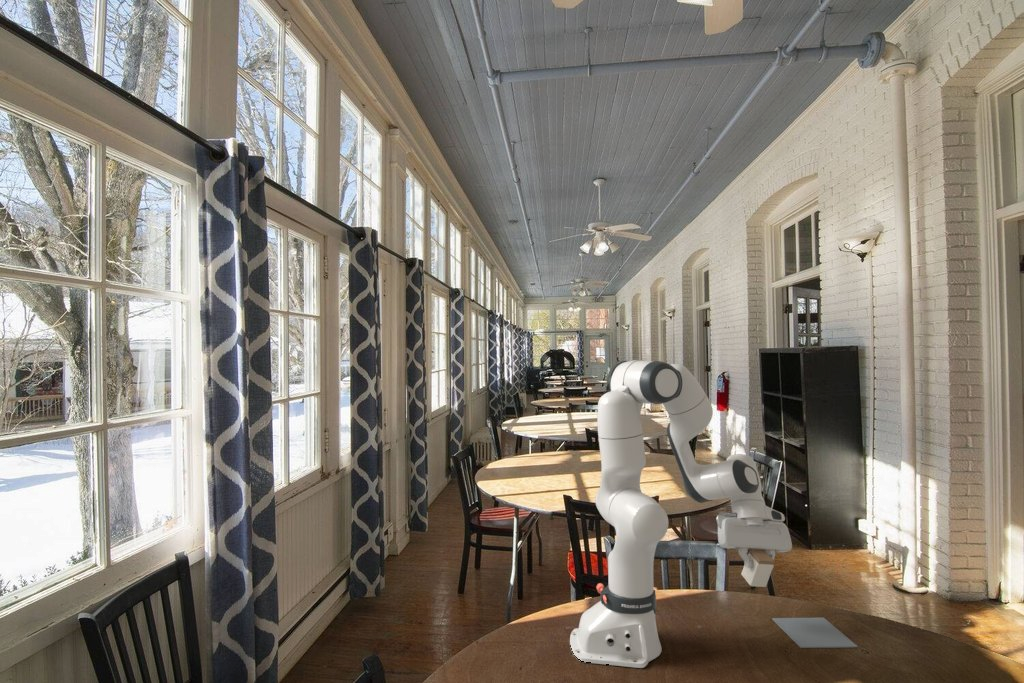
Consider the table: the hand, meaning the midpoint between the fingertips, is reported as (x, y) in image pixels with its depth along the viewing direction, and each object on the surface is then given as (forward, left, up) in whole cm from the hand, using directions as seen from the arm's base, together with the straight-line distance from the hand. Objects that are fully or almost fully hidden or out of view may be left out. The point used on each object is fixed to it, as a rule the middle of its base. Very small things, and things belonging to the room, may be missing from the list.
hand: (759, 568), depth 138 cm
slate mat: (+12, -2, -16) cm, 20 cm away
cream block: (-1, +2, -4) cm, 4 cm away
